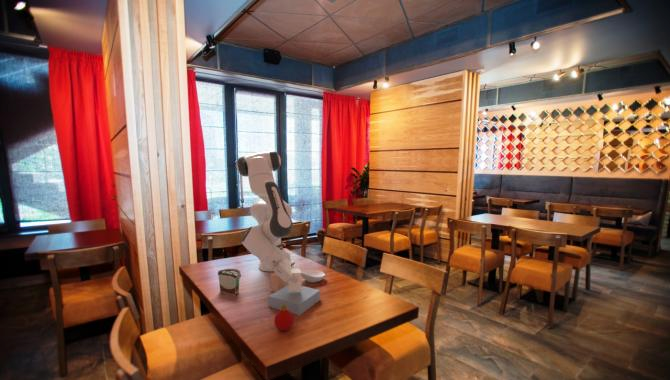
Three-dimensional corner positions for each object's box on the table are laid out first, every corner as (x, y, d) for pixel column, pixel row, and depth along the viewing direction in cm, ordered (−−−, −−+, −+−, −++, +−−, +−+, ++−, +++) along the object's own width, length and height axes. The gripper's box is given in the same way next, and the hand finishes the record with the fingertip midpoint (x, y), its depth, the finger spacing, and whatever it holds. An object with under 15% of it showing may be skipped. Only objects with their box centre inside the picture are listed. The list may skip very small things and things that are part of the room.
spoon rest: (317, 274, 165) (317, 262, 164) (329, 281, 155) (329, 268, 155) (278, 284, 151) (278, 270, 151) (288, 292, 142) (288, 277, 141)
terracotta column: (277, 287, 147) (277, 271, 147) (285, 289, 145) (285, 273, 144) (270, 290, 143) (270, 274, 142) (278, 293, 140) (278, 276, 140)
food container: (247, 291, 142) (246, 270, 141) (237, 296, 137) (237, 275, 136) (227, 286, 147) (227, 266, 146) (217, 291, 142) (217, 270, 141)
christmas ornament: (273, 325, 112) (273, 299, 111) (292, 323, 114) (292, 298, 113) (274, 335, 105) (274, 308, 104) (294, 333, 107) (294, 306, 106)
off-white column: (288, 286, 132) (288, 269, 131) (300, 286, 133) (300, 268, 132) (289, 291, 127) (289, 273, 126) (301, 290, 128) (301, 272, 127)
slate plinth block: (291, 293, 141) (291, 283, 141) (320, 300, 134) (320, 290, 133) (268, 307, 127) (268, 296, 127) (299, 316, 120) (299, 304, 119)
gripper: (278, 260, 117) (303, 282, 120) (278, 246, 137) (299, 265, 140) (267, 272, 116) (292, 294, 119) (268, 256, 136) (290, 275, 139)
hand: (296, 278), depth 130 cm, fingers closed on off-white column, 5 cm apart
